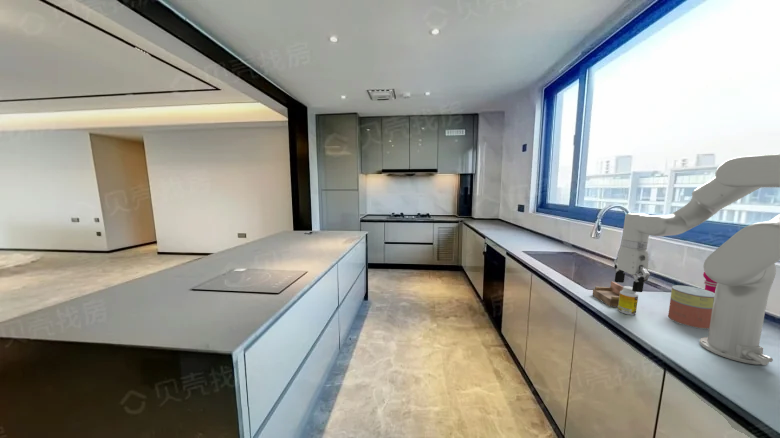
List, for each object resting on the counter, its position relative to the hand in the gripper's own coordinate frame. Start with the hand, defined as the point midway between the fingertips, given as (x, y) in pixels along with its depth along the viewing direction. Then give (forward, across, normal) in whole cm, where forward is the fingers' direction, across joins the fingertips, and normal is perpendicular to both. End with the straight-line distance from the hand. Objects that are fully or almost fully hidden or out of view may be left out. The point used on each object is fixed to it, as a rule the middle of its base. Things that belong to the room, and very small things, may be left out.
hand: (627, 286), depth 108 cm
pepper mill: (+10, +1, -31) cm, 33 cm away
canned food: (+10, -6, -18) cm, 22 cm away
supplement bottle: (+11, -1, 0) cm, 11 cm away
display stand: (+11, +10, -1) cm, 15 cm away
